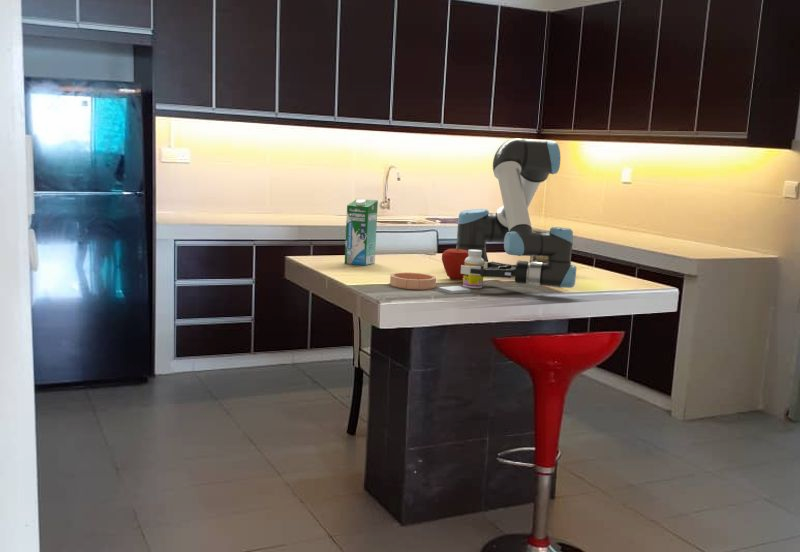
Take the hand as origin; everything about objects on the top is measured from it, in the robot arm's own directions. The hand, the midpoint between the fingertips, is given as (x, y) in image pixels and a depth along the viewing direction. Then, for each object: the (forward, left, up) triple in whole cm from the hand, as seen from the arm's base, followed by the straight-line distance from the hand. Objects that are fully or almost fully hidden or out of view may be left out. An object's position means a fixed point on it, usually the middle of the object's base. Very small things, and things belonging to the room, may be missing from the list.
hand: (464, 266), depth 261 cm
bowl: (+18, -4, -7) cm, 19 cm away
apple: (-5, -13, -7) cm, 16 cm away
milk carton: (+12, -56, -7) cm, 57 cm away
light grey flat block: (+10, +9, -6) cm, 15 cm away
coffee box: (-54, -25, -7) cm, 60 cm away
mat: (+10, +9, -7) cm, 15 cm away
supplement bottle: (-2, +2, -7) cm, 8 cm away
